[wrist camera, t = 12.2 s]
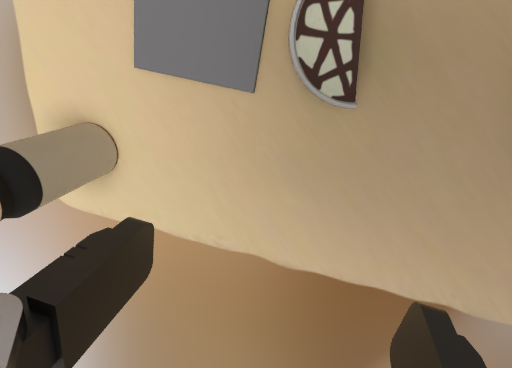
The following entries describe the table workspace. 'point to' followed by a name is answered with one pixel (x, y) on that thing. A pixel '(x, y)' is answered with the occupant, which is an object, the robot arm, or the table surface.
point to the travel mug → (51, 166)
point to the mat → (201, 39)
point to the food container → (327, 48)
